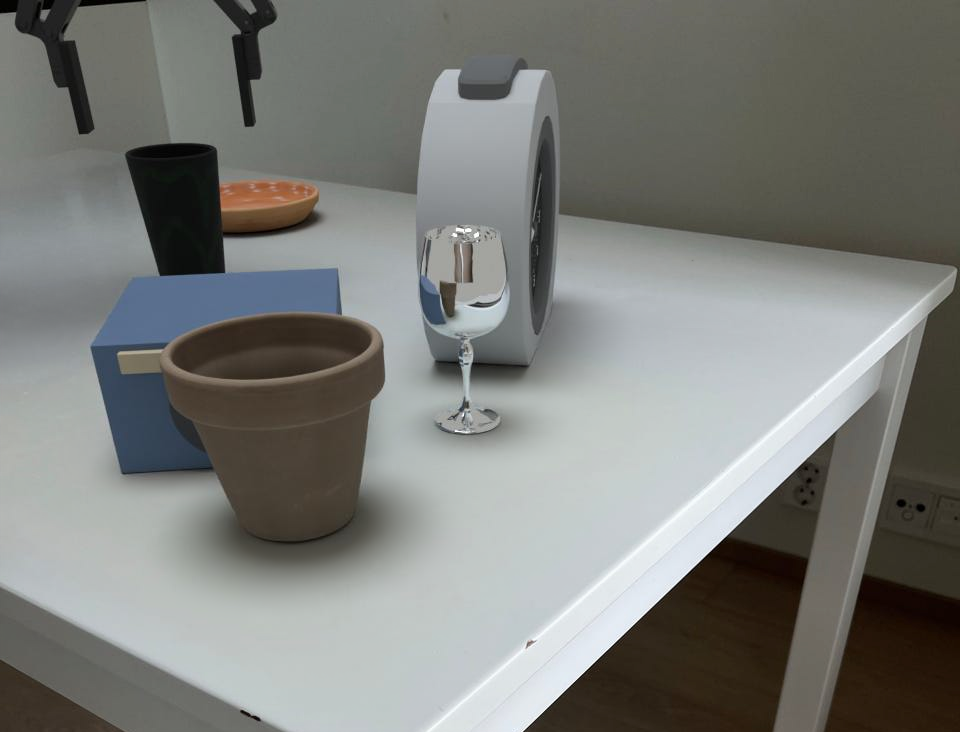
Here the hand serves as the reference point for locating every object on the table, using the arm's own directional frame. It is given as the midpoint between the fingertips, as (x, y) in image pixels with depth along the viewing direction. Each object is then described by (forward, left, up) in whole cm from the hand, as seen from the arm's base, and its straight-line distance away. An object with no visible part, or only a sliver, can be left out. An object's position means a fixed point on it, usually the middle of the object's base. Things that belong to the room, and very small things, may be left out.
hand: (169, 128), depth 84 cm
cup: (0, 0, -14) cm, 14 cm away
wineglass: (+22, -33, -14) cm, 42 cm away
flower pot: (+11, -45, -14) cm, 48 cm away
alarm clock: (+26, -16, -14) cm, 33 cm away
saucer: (+3, +28, -14) cm, 31 cm away
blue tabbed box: (+7, -31, -14) cm, 34 cm away
